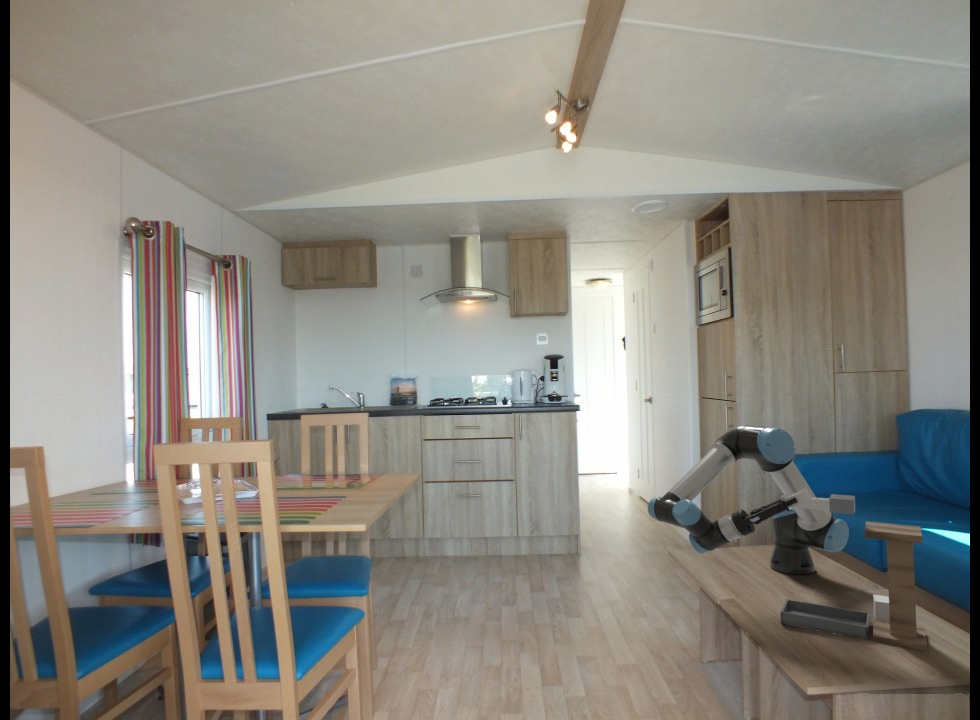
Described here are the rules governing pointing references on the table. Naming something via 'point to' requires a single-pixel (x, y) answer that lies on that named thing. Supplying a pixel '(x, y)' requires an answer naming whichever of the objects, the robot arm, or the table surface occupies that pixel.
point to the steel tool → (828, 503)
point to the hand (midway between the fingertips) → (808, 493)
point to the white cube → (881, 608)
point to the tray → (826, 618)
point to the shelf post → (899, 585)
